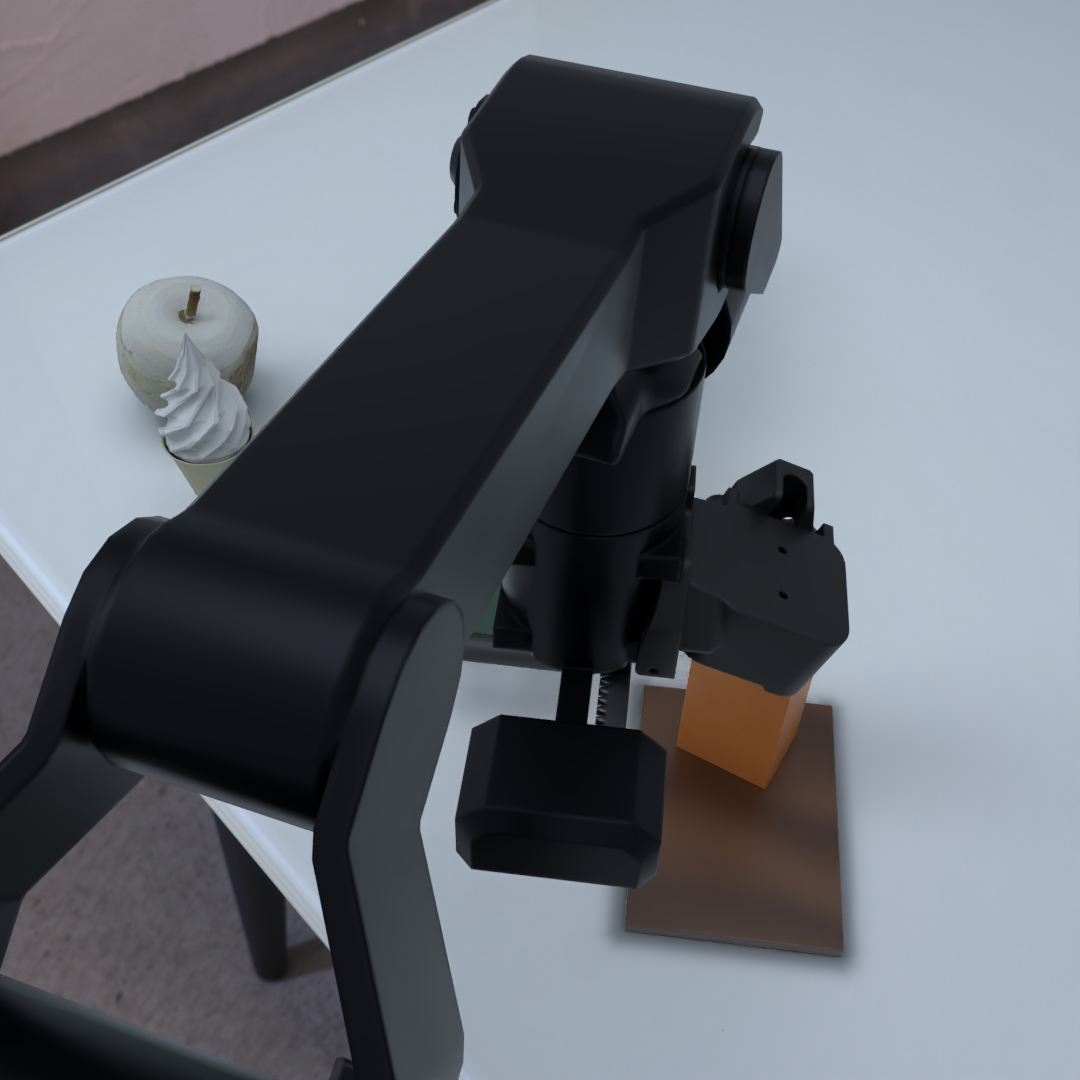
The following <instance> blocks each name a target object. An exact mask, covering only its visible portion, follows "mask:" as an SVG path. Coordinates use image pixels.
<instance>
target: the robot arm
mask: <svg viewBox="0 0 1080 1080" xmlns="http://www.w3.org/2000/svg"><path fill="white" fill-rule="evenodd" d="M763 115H764V108H763V107H762V105H761V103H760V101H759V99H758V98H757V97H755V96H752V95H748V94H741V93H737V92H731V91H727V90H726V91H725V90H721V89H715V88H710V87H705V86H699V85H694V84H689V83H684V82H678V81H673V80H667V79H663V78H658V77H657V78H656V77H651V76H648V75H647V76H646V75H642V74H637V73H632V72H625V71H620V70H614V69H610V68H604V67H599V66H594V65H587V64H583V63H578V62H572V61H567V60H562V59H556V58H553V57H552V58H551V57H546V56H541V55H536V54H527V55H524V56H521V57H520V58H519V59H517V60H516V61H515V62H514V63H513V64H511V66H510V67H509V68H508V69H506V71H505V72H504V73H503V74H502V75H501V78H500V79H498V81H497V82H496V84H495V86H493V88H492V90H491V91H490V92H489V93H487V94H485V95H484V96H483V97H481V99H479V101H477V103H476V105H475V106H473V107H472V108H471V109H470V111H469V114H468V117H467V123H466V125H465V127H464V128H463V130H462V132H461V134H460V135H459V136H458V137H457V139H456V140H455V142H454V144H453V147H452V150H451V152H450V153H451V154H450V159H449V177H450V180H451V182H452V183H453V185H454V200H453V201H454V202H453V213H454V214H455V217H456V219H455V220H454V221H453V223H452V224H451V225H450V226H449V227H448V228H447V229H446V230H445V232H443V233H442V234H441V236H440V237H439V238H438V239H437V240H436V241H435V242H434V243H433V244H432V245H431V246H430V247H429V248H428V249H427V250H426V252H425V253H424V254H423V255H422V256H421V257H420V258H418V260H417V261H416V262H415V264H413V266H411V268H410V269H409V270H408V271H407V272H406V273H405V274H404V275H403V276H402V277H401V278H400V279H399V281H398V282H396V283H395V285H394V286H393V287H392V288H391V289H390V290H389V291H388V292H387V293H386V294H385V295H384V297H383V298H381V300H379V302H377V304H376V305H375V306H374V307H373V308H372V309H371V310H370V311H369V312H368V314H367V315H366V316H365V317H364V318H363V319H361V321H360V322H359V323H358V324H357V325H356V326H355V327H354V329H352V331H350V333H349V334H347V336H346V337H345V338H344V339H343V340H342V341H341V342H340V343H339V345H338V346H337V347H336V348H335V349H334V350H333V351H332V352H331V353H330V354H329V355H328V356H327V357H326V358H325V359H324V360H323V361H322V363H321V364H320V365H319V366H318V367H317V368H316V369H315V370H314V371H313V372H312V374H311V375H310V376H309V377H308V378H307V379H306V380H305V381H304V382H303V383H302V384H301V385H300V386H299V387H298V389H296V391H295V392H294V393H293V394H292V395H291V396H289V398H288V399H287V400H286V401H285V402H284V403H283V405H281V406H280V408H279V409H278V410H277V411H276V412H275V413H274V414H273V415H272V416H271V417H270V418H269V419H268V420H267V421H266V423H264V425H263V426H262V427H261V428H260V429H259V430H258V431H257V432H256V433H255V434H254V437H253V438H252V439H251V440H250V441H249V442H248V443H247V444H246V445H245V446H244V447H243V448H242V449H241V451H240V452H239V453H238V454H237V455H236V456H235V457H234V458H233V459H232V460H231V461H230V462H229V463H228V464H227V466H226V467H225V468H224V469H223V470H222V471H221V472H220V473H219V474H218V475H217V476H216V477H215V478H214V479H213V480H212V482H211V483H210V484H209V485H208V486H207V487H206V488H205V489H204V490H203V491H202V492H201V493H200V494H199V495H198V496H196V497H195V499H194V500H193V501H192V502H191V503H189V505H188V506H187V507H186V508H185V509H184V510H182V511H181V512H179V513H178V514H177V515H175V516H174V517H172V518H168V517H166V516H162V515H153V516H139V517H135V518H133V519H132V520H131V521H129V522H128V523H126V524H125V525H124V526H122V527H121V528H120V529H118V530H117V531H115V532H114V533H112V534H110V536H108V538H107V539H106V540H105V542H104V543H103V544H102V545H101V547H100V548H99V549H98V551H97V552H96V554H95V555H94V556H93V558H92V559H91V561H90V562H89V563H88V565H87V566H86V567H85V569H84V570H83V572H82V574H81V575H80V578H79V581H78V582H77V585H76V587H75V590H74V591H73V593H72V596H71V598H70V601H69V603H68V605H67V608H66V610H65V612H64V614H63V617H62V620H61V623H60V625H59V629H58V632H57V636H56V639H55V642H54V645H53V648H52V651H51V654H50V657H49V661H48V663H47V666H46V669H45V673H44V675H43V679H42V682H41V685H40V688H39V692H38V695H37V698H36V701H35V704H34V707H33V710H32V714H31V717H30V720H29V722H28V726H27V729H26V732H25V734H24V735H23V737H22V739H21V740H20V742H19V743H18V744H17V745H16V746H15V747H14V748H12V750H11V751H9V752H8V754H7V755H5V757H4V758H3V759H2V760H0V970H1V969H2V966H3V964H4V963H3V962H4V960H5V957H6V953H7V950H8V946H9V944H10V940H11V937H12V935H13V931H14V928H15V925H16V922H17V918H18V916H19V912H20V910H21V906H22V903H23V900H24V899H25V897H26V896H27V894H28V893H29V892H30V891H31V890H32V889H33V888H34V887H35V886H36V885H37V884H39V882H40V881H41V880H43V878H44V877H46V875H47V874H48V873H49V872H50V871H51V870H52V869H53V868H54V867H55V866H56V865H58V863H59V862H60V861H61V860H63V858H64V857H65V856H66V855H67V854H69V852H71V850H72V849H73V848H74V847H75V846H76V845H77V844H79V842H80V841H82V839H83V838H85V837H86V835H88V833H90V832H91V831H92V830H93V828H94V827H95V826H97V825H98V824H99V823H100V822H101V821H102V820H103V819H104V817H106V816H107V815H108V814H109V813H110V812H111V811H112V810H113V809H114V808H115V807H116V806H117V805H118V804H119V803H120V802H121V801H122V800H123V799H124V798H125V797H126V796H127V795H128V794H129V793H130V792H131V791H132V790H133V789H134V788H135V787H136V786H138V784H139V783H140V782H141V781H142V780H143V779H144V778H145V777H148V778H151V779H153V780H156V781H159V782H161V783H166V784H168V785H172V786H174V787H177V788H179V789H184V790H187V791H190V792H193V793H195V794H199V795H201V796H205V797H207V798H210V799H213V800H217V801H219V802H222V803H225V804H228V805H232V806H234V807H237V808H240V809H243V810H246V811H249V812H252V813H255V814H258V815H261V816H263V817H267V818H270V819H273V820H276V821H279V822H282V823H285V824H288V825H291V826H294V827H297V828H301V829H303V830H306V831H309V832H312V848H311V849H312V851H311V862H312V867H313V872H314V877H315V883H316V888H317V892H318V897H319V902H320V908H321V913H322V917H323V918H322V919H323V922H324V927H325V932H326V938H327V943H328V948H329V954H330V958H331V963H332V966H333V972H334V977H335V982H336V988H337V992H338V997H339V998H338V999H339V1003H340V1008H341V1013H342V1019H343V1023H344V1027H345V1033H346V1037H347V1043H348V1047H349V1052H350V1058H347V1057H345V1056H340V1057H336V1058H335V1060H334V1063H333V1065H332V1069H331V1072H330V1075H329V1079H328V1080H459V1078H460V1076H461V1072H462V1068H463V1065H464V1056H465V1031H464V1026H463V1022H462V1018H461V1017H462V1016H461V1012H460V1008H459V1004H458V998H457V994H456V989H455V985H454V980H453V974H452V971H451V966H450V962H449V957H448V952H447V947H446V943H445V938H444V934H443V929H442V925H441V919H440V915H439V911H438V905H437V901H436V896H435V892H434V887H433V882H432V878H431V874H430V869H429V864H428V860H427V855H426V849H425V846H424V845H425V844H424V841H423V837H422V831H421V821H422V817H423V814H424V810H425V807H426V803H427V801H428V796H429V793H430V790H431V787H432V784H433V780H434V776H435V773H436V769H437V766H438V762H439V759H440V755H441V753H442V749H443V746H444V742H445V738H446V736H447V732H448V728H449V725H450V722H451V719H452V715H453V711H454V706H455V701H456V698H457V694H458V689H459V686H460V681H461V677H462V671H463V670H462V669H463V663H464V661H463V655H464V647H465V645H466V643H467V641H468V640H469V638H470V636H471V634H474V632H473V631H474V629H475V627H476V626H477V624H478V622H479V620H480V619H481V617H482V615H483V613H484V612H485V610H486V608H487V606H488V605H489V603H490V601H491V599H492V598H493V596H494V594H495V592H496V591H497V589H498V587H499V585H500V584H501V588H500V593H499V598H498V604H497V609H496V614H495V620H494V625H493V634H492V636H493V648H499V649H508V650H518V651H527V652H531V655H532V657H533V658H534V659H535V660H537V661H538V662H540V663H542V664H544V665H547V666H549V667H552V668H554V669H557V670H561V671H562V672H560V674H561V675H560V681H559V687H558V688H559V689H558V697H557V703H556V711H555V718H554V719H548V718H547V719H546V718H539V717H538V718H537V717H529V716H520V715H511V714H504V713H503V714H502V713H499V714H498V715H496V716H494V717H492V718H490V719H488V720H486V721H484V722H482V723H479V724H477V725H476V726H473V727H472V728H471V731H470V736H469V742H468V745H467V746H468V747H467V753H466V758H465V762H464V768H463V774H462V779H461V785H460V788H459V789H460V790H459V793H458V794H459V795H458V799H457V800H458V801H457V805H456V810H455V816H454V833H455V837H454V838H455V852H456V853H457V855H458V856H460V858H461V859H462V861H464V863H465V864H466V865H467V866H468V868H469V869H470V870H473V871H481V872H490V873H499V874H506V875H507V874H508V875H515V876H524V877H532V878H541V879H549V880H557V881H566V882H573V883H581V884H591V885H600V886H601V885H602V886H608V887H615V888H616V887H617V888H625V889H627V888H632V889H638V888H639V887H640V886H642V885H643V884H644V883H646V882H647V881H648V880H650V879H651V878H653V877H654V876H655V875H656V873H657V867H658V862H659V856H660V850H661V845H662V831H663V814H664V798H665V781H666V765H667V750H666V749H665V748H664V747H662V746H661V745H660V744H659V743H657V742H656V741H655V740H653V739H652V738H651V737H649V736H648V735H647V734H645V733H644V732H643V731H642V730H640V729H636V728H627V723H628V712H629V700H630V699H629V698H630V690H631V689H630V688H631V676H632V667H633V664H634V671H635V673H636V675H638V676H643V677H653V678H661V679H662V678H663V679H671V680H675V678H676V672H677V666H678V660H679V653H680V652H683V653H684V654H685V655H686V656H687V657H688V658H690V660H691V659H692V660H694V661H695V662H697V663H699V664H702V665H704V666H707V667H710V668H713V669H716V670H719V671H721V672H724V673H727V674H730V675H733V676H736V677H739V678H741V679H744V680H747V681H750V682H753V683H756V684H758V685H761V686H762V687H763V689H764V690H765V691H767V692H769V693H772V694H775V695H778V696H792V695H794V694H796V693H797V692H798V691H799V690H800V689H801V688H802V687H803V686H804V685H805V684H806V683H807V682H808V681H809V680H810V678H811V677H812V676H813V677H814V676H815V674H816V673H817V672H818V671H819V670H820V669H821V668H822V667H823V666H824V665H825V664H826V663H827V661H829V659H831V657H833V655H834V654H835V653H836V652H837V651H838V650H839V649H840V648H841V647H842V646H843V644H845V643H846V641H847V640H848V638H849V635H850V616H849V615H850V614H849V598H848V584H847V583H848V580H847V566H846V565H847V564H846V561H845V558H844V556H843V554H842V552H841V551H840V549H839V548H838V547H837V545H835V536H834V535H835V534H834V532H835V531H834V526H833V525H830V524H828V523H825V522H823V523H822V524H821V525H820V526H819V528H816V527H815V526H814V523H815V522H814V521H815V509H816V508H815V507H816V506H815V505H816V504H815V484H814V483H815V481H814V473H813V472H812V471H811V470H810V469H807V468H805V467H802V466H800V465H797V464H796V463H795V464H794V463H792V462H790V461H787V460H784V459H782V458H778V459H775V460H773V461H771V462H770V463H767V464H765V465H764V466H762V467H760V468H758V469H755V470H754V471H752V472H750V473H748V474H746V475H744V476H742V477H740V478H739V479H737V480H736V481H735V482H734V483H733V484H732V486H728V488H727V489H726V491H725V492H724V493H723V494H720V493H718V494H712V495H709V496H708V497H707V498H706V499H702V498H699V497H695V495H696V482H697V465H695V464H693V458H694V451H695V444H696V439H697V432H698V424H699V419H700V418H699V417H700V411H701V405H702V398H703V391H704V385H705V380H706V379H707V378H709V377H710V376H711V375H712V374H713V373H715V371H716V370H717V368H718V367H719V366H720V364H721V363H722V362H723V361H724V359H725V357H726V355H727V353H728V350H729V348H730V346H731V342H732V340H733V338H734V336H735V333H736V331H737V328H738V326H739V323H740V320H741V319H742V315H743V313H744V310H745V309H746V306H747V304H748V302H749V298H750V296H751V295H764V293H765V291H766V288H767V286H768V284H769V281H770V278H771V276H772V274H773V271H774V268H775V266H776V264H777V260H778V258H779V254H780V250H781V246H782V240H783V169H784V168H783V166H784V164H783V163H784V162H783V161H784V159H783V158H784V157H783V151H782V150H777V149H773V148H768V147H762V146H759V145H754V144H752V143H753V141H754V140H755V139H756V137H757V135H758V134H759V130H760V127H761V123H762V119H763ZM594 675H599V682H598V683H599V685H598V686H599V687H598V692H597V696H598V697H597V701H596V710H595V715H596V716H595V721H594V724H593V723H592V724H591V723H588V720H589V714H590V713H589V712H590V705H591V704H590V703H591V694H592V687H593V677H594ZM0 1080H279V1079H278V1078H275V1077H273V1076H270V1075H267V1074H265V1073H262V1072H259V1071H258V1070H254V1069H252V1068H249V1067H246V1066H243V1065H241V1064H239V1063H235V1062H233V1061H230V1060H228V1059H226V1058H223V1057H220V1056H217V1055H215V1054H212V1053H210V1052H207V1051H204V1050H203V1049H199V1048H197V1047H194V1046H191V1045H188V1044H186V1043H183V1042H181V1041H178V1040H175V1039H173V1038H171V1037H168V1036H165V1035H161V1034H160V1033H157V1032H154V1031H151V1030H149V1029H147V1028H144V1027H141V1026H140V1025H135V1024H133V1023H131V1022H128V1021H126V1020H123V1019H120V1018H118V1017H115V1016H112V1015H110V1014H107V1013H106V1012H102V1011H99V1010H97V1009H94V1008H91V1007H89V1006H86V1005H83V1004H81V1003H78V1002H76V1001H73V1000H70V999H68V998H66V997H63V996H60V995H57V994H55V993H53V992H49V991H47V990H44V989H42V988H39V987H36V986H33V985H30V984H28V983H26V982H23V981H21V980H18V979H16V978H12V977H10V976H8V975H6V974H5V975H4V974H2V973H0Z"/></svg>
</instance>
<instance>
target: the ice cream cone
mask: <svg viewBox="0 0 1080 1080" xmlns="http://www.w3.org/2000/svg"><path fill="white" fill-rule="evenodd" d="M174 369H175V370H174V371H173V373H172V374H171V375H170V376H169V378H168V380H169V381H174V382H176V383H177V385H176V387H175V388H174V389H172V390H170V391H168V392H166V393H163V394H161V397H160V398H163V399H166V400H167V401H168V406H166V407H165V408H161V409H156V411H155V412H154V415H155V416H156V417H161V418H165V417H166V418H165V419H167V422H166V424H165V426H162V427H158V431H157V433H158V434H159V435H160V443H161V444H160V445H161V446H162V449H163V450H164V452H165V453H166V455H168V456H169V457H170V458H171V459H172V460H173V461H174V463H175V465H176V466H177V467H178V469H179V471H180V472H181V473H182V475H183V476H184V478H185V479H186V481H187V483H188V484H189V486H190V488H191V489H192V491H193V492H194V493H195V495H196V497H198V495H199V494H200V493H201V492H202V491H203V490H204V489H205V488H206V487H207V486H208V485H209V484H210V483H211V482H212V480H213V479H214V478H215V477H216V476H217V475H218V474H219V473H220V472H221V471H222V470H223V469H224V468H225V467H226V466H227V464H228V463H229V462H230V461H231V460H232V459H233V458H234V457H235V456H236V455H237V454H238V453H239V452H240V451H241V449H242V448H243V447H244V446H245V445H246V444H247V443H248V442H249V441H250V440H251V439H252V438H253V437H254V436H255V434H256V433H255V432H256V427H255V424H254V421H253V419H252V418H251V417H250V415H249V412H248V411H249V410H248V409H249V407H248V405H247V403H246V401H245V400H244V397H242V396H241V394H240V392H239V390H238V388H237V387H236V386H235V385H233V384H231V383H229V382H227V381H225V380H223V379H221V378H220V374H221V373H220V372H219V371H218V370H217V369H216V368H215V367H214V365H213V363H212V362H210V361H209V360H207V359H206V357H205V356H204V355H203V354H202V353H201V351H200V350H199V349H198V348H197V346H196V345H195V344H194V343H193V342H192V340H191V339H190V338H189V337H188V335H187V333H185V334H184V338H183V342H182V345H181V349H180V352H179V355H178V358H177V362H176V364H175V367H174Z"/></svg>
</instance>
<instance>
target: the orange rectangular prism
mask: <svg viewBox="0 0 1080 1080" xmlns="http://www.w3.org/2000/svg"><path fill="white" fill-rule="evenodd" d="M813 678H814V675H813V676H812V677H811V678H810V680H809V681H808V682H807V683H806V684H805V685H804V686H803V687H802V688H801V689H800V690H799V691H798V692H797V693H796V694H794V695H792V696H778V695H775V694H772V693H769V692H767V691H765V690H764V689H763V687H762V686H761V685H758V684H756V683H753V682H750V681H747V680H744V679H741V678H739V677H736V676H733V675H730V674H727V673H724V672H721V671H719V670H716V669H713V668H710V667H707V666H704V665H702V664H699V663H697V662H695V661H694V660H692V659H691V658H690V665H689V671H688V678H687V682H686V687H685V689H686V693H685V699H684V705H683V710H682V716H681V722H680V727H679V733H678V738H677V744H676V746H677V747H679V748H681V749H683V750H685V751H687V752H689V753H691V754H693V755H695V756H697V757H699V758H701V759H703V760H705V761H708V762H710V763H712V764H714V765H716V766H718V767H720V768H722V769H724V770H726V771H728V772H730V773H732V774H734V775H736V776H738V777H740V778H742V779H744V780H747V781H749V782H751V783H753V784H755V785H757V786H759V787H761V788H763V789H766V788H767V786H768V784H769V782H770V780H771V779H772V777H773V775H774V773H775V771H776V770H777V768H778V766H779V764H780V762H781V761H782V759H783V757H784V755H785V754H786V752H787V750H788V748H789V746H790V745H791V743H792V741H793V739H794V737H795V736H796V733H797V730H798V726H799V723H800V719H801V716H802V712H803V709H804V705H805V703H807V699H808V695H809V692H810V688H811V684H812V680H813Z"/></svg>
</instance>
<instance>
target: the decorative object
mask: <svg viewBox="0 0 1080 1080" xmlns="http://www.w3.org/2000/svg"><path fill="white" fill-rule="evenodd" d="M119 314H120V315H119V318H118V321H117V325H116V333H115V344H116V346H115V347H116V355H117V362H118V367H119V371H120V373H121V375H122V376H123V378H124V381H125V382H126V384H127V386H128V388H129V389H130V390H131V391H132V393H133V394H134V396H135V397H136V398H137V399H138V400H139V402H141V403H142V404H143V405H144V406H146V408H148V409H149V411H150V410H151V411H152V412H154V413H155V411H156V409H161V408H165V407H166V406H168V401H167V400H166V399H163V398H160V397H161V394H163V393H166V392H168V391H170V390H172V389H174V388H175V387H176V385H177V383H176V382H174V381H169V380H168V378H169V376H170V375H171V374H172V373H173V371H174V370H175V369H174V367H175V364H176V362H177V358H178V355H179V352H180V349H181V345H182V342H183V338H184V334H185V333H187V335H188V337H189V338H190V339H191V340H192V342H193V343H194V344H195V345H196V346H197V348H198V349H199V350H200V351H201V353H202V354H203V355H204V356H205V357H206V359H207V360H209V361H210V362H212V363H213V365H214V367H215V368H216V369H217V370H218V371H219V372H220V373H221V374H220V378H221V379H223V380H225V381H227V382H229V383H231V384H233V385H235V386H236V387H237V388H238V390H239V392H240V394H241V396H242V398H244V397H245V395H247V393H248V391H249V389H250V387H251V385H252V382H253V380H254V375H255V369H256V360H257V352H258V342H259V324H258V321H257V317H256V315H255V313H254V311H253V310H252V309H251V307H250V306H249V305H248V304H247V302H245V300H244V299H243V298H242V297H241V296H240V295H238V294H237V293H236V292H235V291H234V290H233V289H231V288H229V287H228V286H226V285H224V284H223V283H220V282H219V281H218V282H217V281H215V280H213V279H210V278H207V277H203V276H197V275H176V276H175V275H174V276H170V277H163V278H160V279H156V280H153V281H151V282H149V283H146V284H145V285H143V286H141V287H140V288H138V289H137V290H136V291H135V292H134V293H133V294H132V295H130V297H129V298H128V300H127V301H126V303H125V304H124V306H123V308H122V310H121V312H120V313H119ZM164 419H167V418H166V417H164Z"/></svg>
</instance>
